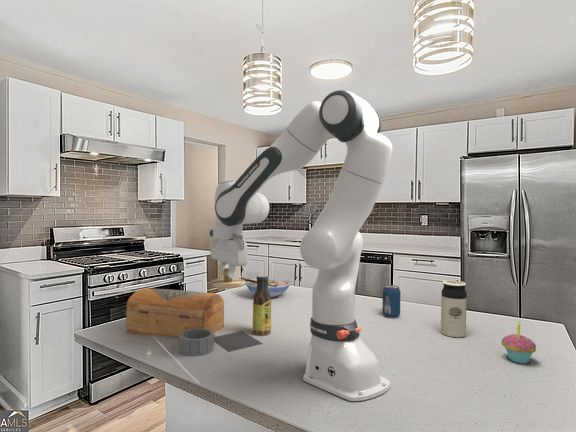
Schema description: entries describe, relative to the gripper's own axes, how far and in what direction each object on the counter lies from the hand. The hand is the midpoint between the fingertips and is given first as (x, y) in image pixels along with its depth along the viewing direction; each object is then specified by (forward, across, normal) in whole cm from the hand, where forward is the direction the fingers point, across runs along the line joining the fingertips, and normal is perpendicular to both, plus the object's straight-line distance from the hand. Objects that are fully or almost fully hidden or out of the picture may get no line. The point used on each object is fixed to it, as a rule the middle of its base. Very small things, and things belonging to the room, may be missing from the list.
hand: (227, 276), depth 118 cm
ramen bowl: (+22, +46, -43) cm, 67 cm away
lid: (+2, 0, 0) cm, 2 cm away
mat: (+21, 0, -3) cm, 22 cm away
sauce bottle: (+22, +2, -14) cm, 26 cm away
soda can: (+21, -8, -68) cm, 72 cm away
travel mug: (+21, -34, -69) cm, 80 cm away
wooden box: (+22, +22, +9) cm, 32 cm away
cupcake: (+21, -57, -65) cm, 89 cm away
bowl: (+21, 0, +10) cm, 24 cm away
